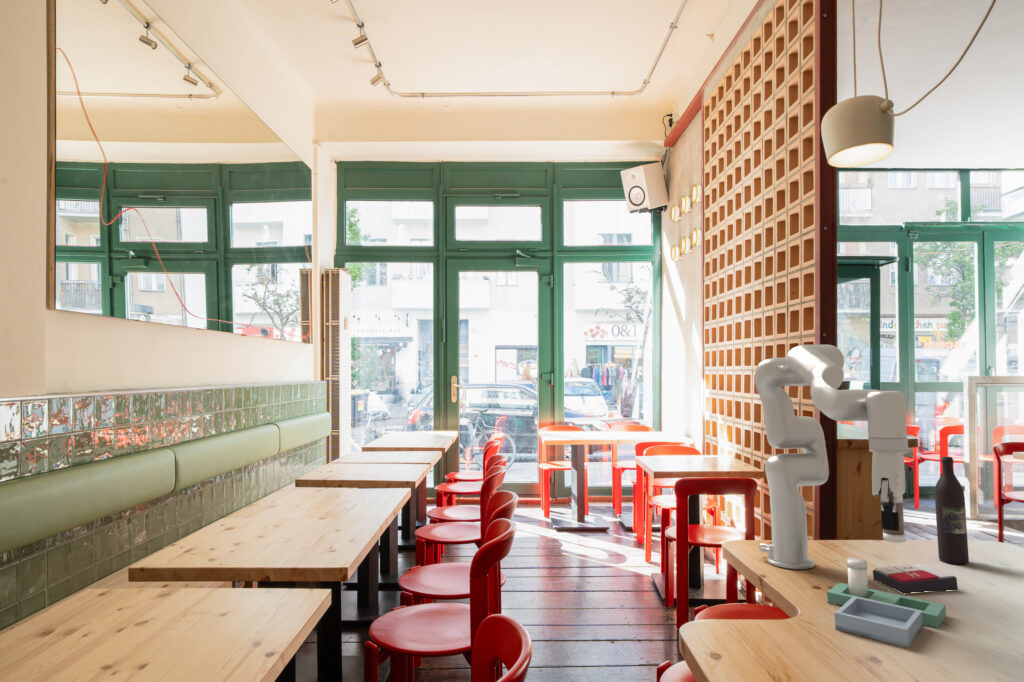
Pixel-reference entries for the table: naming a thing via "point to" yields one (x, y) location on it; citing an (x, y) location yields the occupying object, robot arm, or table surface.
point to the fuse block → (930, 610)
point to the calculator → (915, 578)
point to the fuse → (857, 577)
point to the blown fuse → (899, 535)
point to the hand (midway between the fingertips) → (893, 527)
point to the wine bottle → (951, 516)
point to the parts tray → (879, 621)
